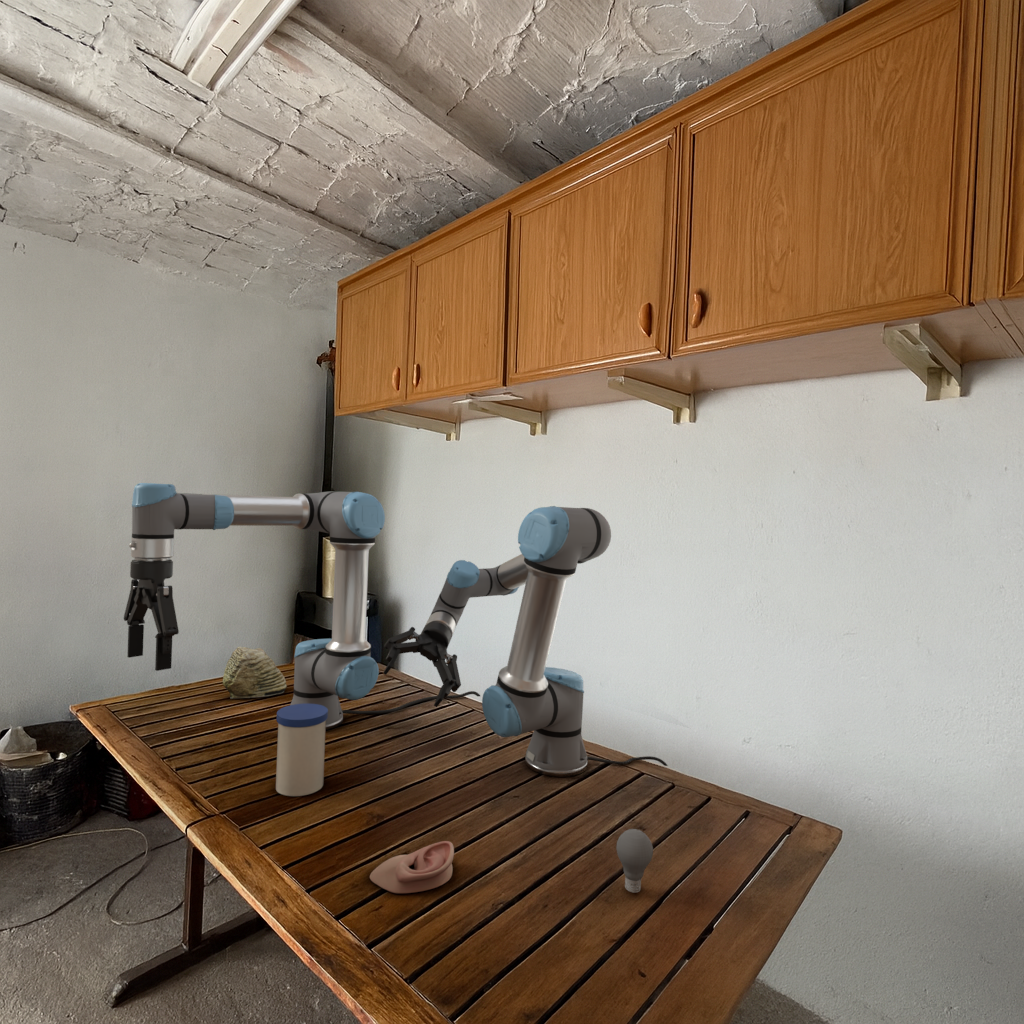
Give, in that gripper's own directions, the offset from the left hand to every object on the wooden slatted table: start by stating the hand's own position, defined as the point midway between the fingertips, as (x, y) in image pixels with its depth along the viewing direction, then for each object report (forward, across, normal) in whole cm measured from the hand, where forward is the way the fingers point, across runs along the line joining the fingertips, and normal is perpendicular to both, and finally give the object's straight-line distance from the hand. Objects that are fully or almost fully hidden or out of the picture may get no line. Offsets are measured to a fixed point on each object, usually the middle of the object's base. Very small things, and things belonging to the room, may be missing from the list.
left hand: (148, 662), depth 129 cm
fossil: (+28, -47, +50) cm, 74 cm away
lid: (+12, +17, +25) cm, 33 cm away
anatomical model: (+28, +60, +19) cm, 69 cm away
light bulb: (+28, +90, +41) cm, 103 cm away
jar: (+28, +17, +25) cm, 41 cm away
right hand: (+6, +33, +42) cm, 54 cm away
